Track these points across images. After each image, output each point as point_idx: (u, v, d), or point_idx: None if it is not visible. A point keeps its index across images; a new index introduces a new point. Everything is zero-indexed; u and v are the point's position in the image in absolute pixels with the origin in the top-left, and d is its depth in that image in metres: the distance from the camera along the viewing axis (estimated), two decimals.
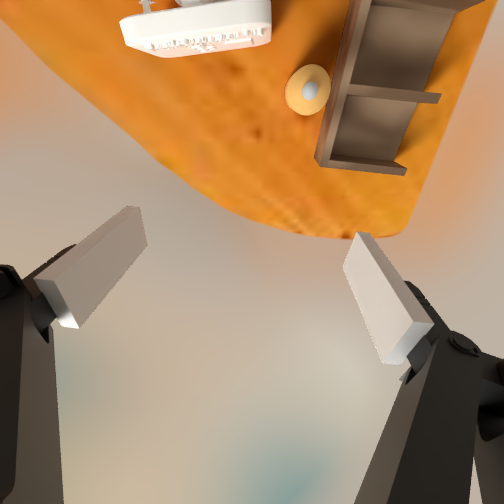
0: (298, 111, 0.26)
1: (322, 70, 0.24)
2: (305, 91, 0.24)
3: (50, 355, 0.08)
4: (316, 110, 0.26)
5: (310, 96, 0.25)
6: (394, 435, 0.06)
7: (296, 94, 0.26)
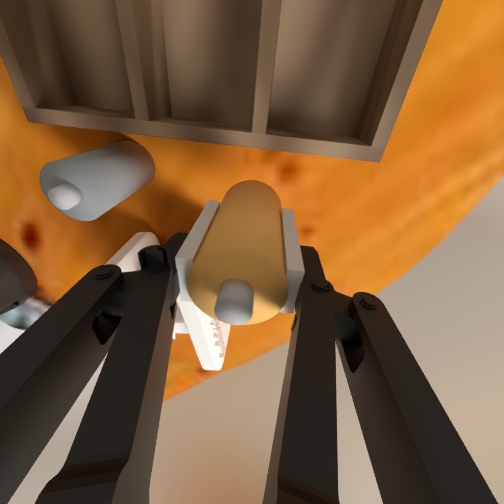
0: (278, 308, 0.11)
1: (194, 270, 0.10)
2: (234, 320, 0.10)
3: (171, 330, 0.09)
4: (278, 275, 0.10)
5: (245, 311, 0.09)
6: (287, 381, 0.07)
7: None
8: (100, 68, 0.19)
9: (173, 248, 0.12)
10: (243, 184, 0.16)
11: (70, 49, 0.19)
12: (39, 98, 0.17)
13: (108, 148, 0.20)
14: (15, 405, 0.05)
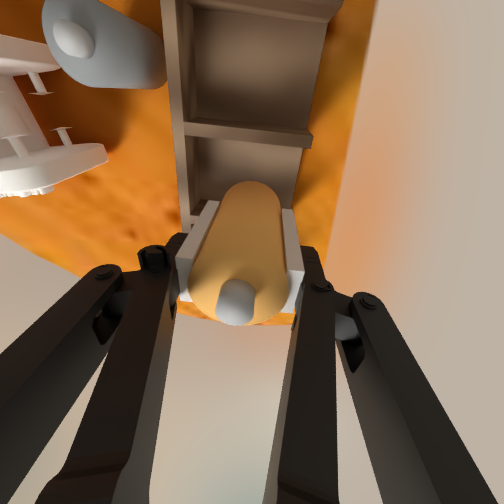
0: (279, 308, 0.11)
1: (195, 271, 0.10)
2: (235, 320, 0.10)
3: (171, 330, 0.09)
4: (279, 275, 0.10)
5: (246, 312, 0.09)
6: (287, 381, 0.07)
7: None
8: (227, 59, 0.20)
9: (173, 248, 0.12)
10: (242, 185, 0.16)
11: (240, 26, 0.19)
12: None
13: (152, 61, 0.19)
14: (15, 405, 0.05)
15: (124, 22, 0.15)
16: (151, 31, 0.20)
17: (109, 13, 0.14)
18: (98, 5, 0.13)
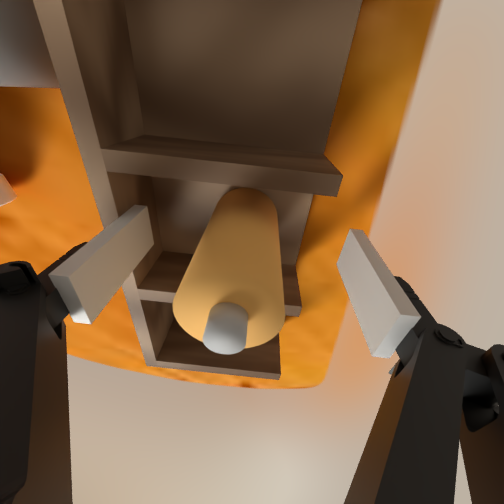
0: (275, 331, 0.10)
1: (180, 294, 0.09)
2: (226, 349, 0.09)
3: (62, 351, 0.08)
4: (274, 298, 0.09)
5: (237, 341, 0.08)
6: (384, 427, 0.06)
7: None
8: (186, 35, 0.11)
9: None
10: (236, 192, 0.15)
11: None
12: None
13: (34, 33, 0.10)
14: None
15: None
16: None
17: None
18: None
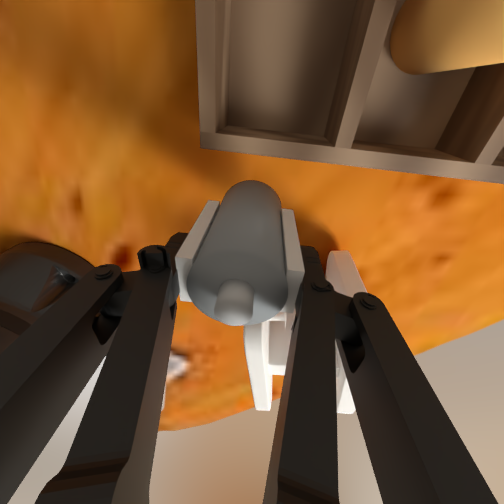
0: None
1: None
2: None
3: (171, 330, 0.09)
4: None
5: None
6: (287, 381, 0.07)
7: None
8: (269, 84, 0.17)
9: (173, 248, 0.12)
10: (395, 37, 0.14)
11: (240, 63, 0.16)
12: (217, 121, 0.15)
13: (254, 202, 0.13)
14: (15, 405, 0.05)
15: (215, 229, 0.11)
16: (225, 196, 0.16)
17: (206, 248, 0.10)
18: (198, 260, 0.10)
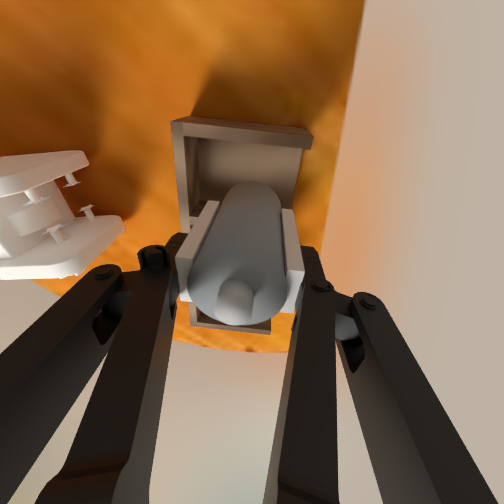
0: None
1: None
2: None
3: (171, 330, 0.09)
4: None
5: None
6: (287, 381, 0.07)
7: None
8: (224, 162, 0.25)
9: (173, 248, 0.12)
10: None
11: (235, 141, 0.24)
12: None
13: (254, 203, 0.13)
14: (15, 405, 0.05)
15: (215, 230, 0.11)
16: (225, 197, 0.16)
17: (206, 248, 0.10)
18: (198, 260, 0.10)
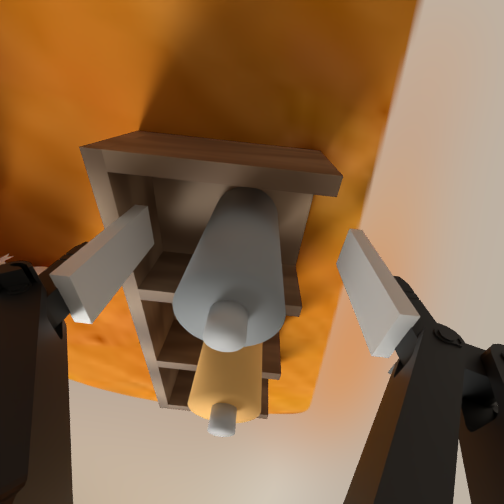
0: (254, 416, 0.15)
1: (193, 398, 0.14)
2: (222, 434, 0.14)
3: (63, 350, 0.08)
4: (253, 403, 0.14)
5: (229, 431, 0.13)
6: (383, 427, 0.06)
7: None
8: (195, 200, 0.16)
9: None
10: None
11: None
12: None
13: (247, 211, 0.12)
14: None
15: (204, 243, 0.10)
16: (217, 204, 0.15)
17: (192, 266, 0.09)
18: (183, 281, 0.09)
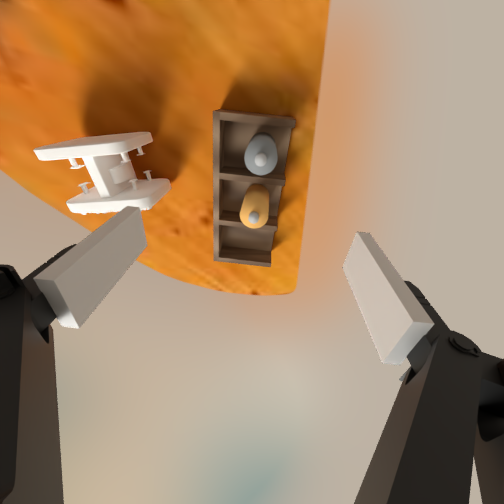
0: (265, 221, 0.37)
1: (243, 208, 0.36)
2: (253, 221, 0.36)
3: (50, 355, 0.08)
4: (265, 210, 0.36)
5: (256, 218, 0.36)
6: (394, 435, 0.06)
7: (255, 223, 0.38)
8: (241, 139, 0.39)
9: None
10: (254, 185, 0.42)
11: (248, 125, 0.38)
12: (224, 119, 0.34)
13: (264, 135, 0.35)
14: None
15: (252, 141, 0.33)
16: (251, 138, 0.38)
17: (250, 143, 0.32)
18: (249, 145, 0.31)
